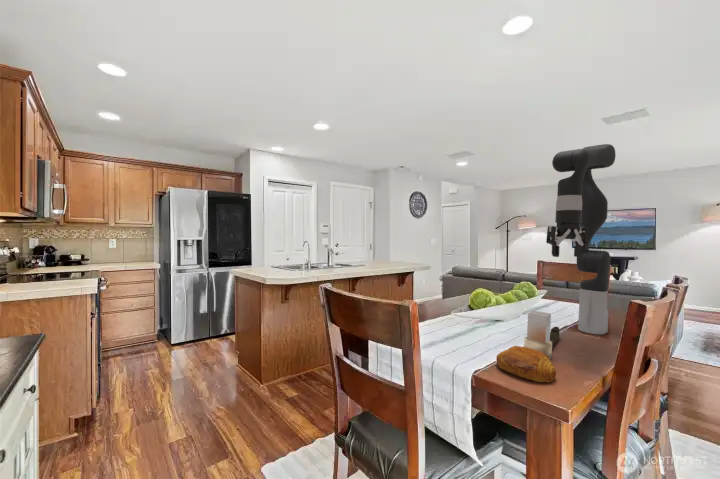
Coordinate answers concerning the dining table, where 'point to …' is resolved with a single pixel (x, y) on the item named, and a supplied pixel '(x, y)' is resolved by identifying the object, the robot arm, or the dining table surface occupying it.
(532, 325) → the light grey block
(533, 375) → the croissant
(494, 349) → the dining table surface
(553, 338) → the hand tool
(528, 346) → the cream rounded block
